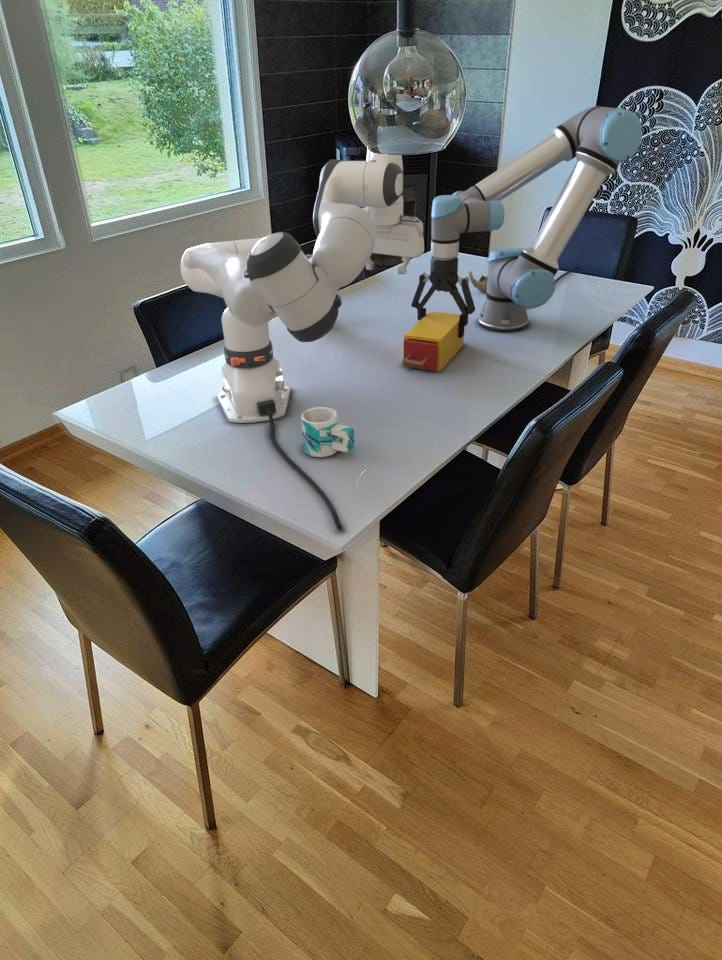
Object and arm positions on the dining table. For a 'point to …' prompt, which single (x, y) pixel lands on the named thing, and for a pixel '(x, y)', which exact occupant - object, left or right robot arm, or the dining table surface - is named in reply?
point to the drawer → (420, 354)
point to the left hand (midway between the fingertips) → (386, 271)
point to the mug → (325, 433)
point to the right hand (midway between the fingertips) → (441, 333)
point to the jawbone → (479, 282)
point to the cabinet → (439, 335)
